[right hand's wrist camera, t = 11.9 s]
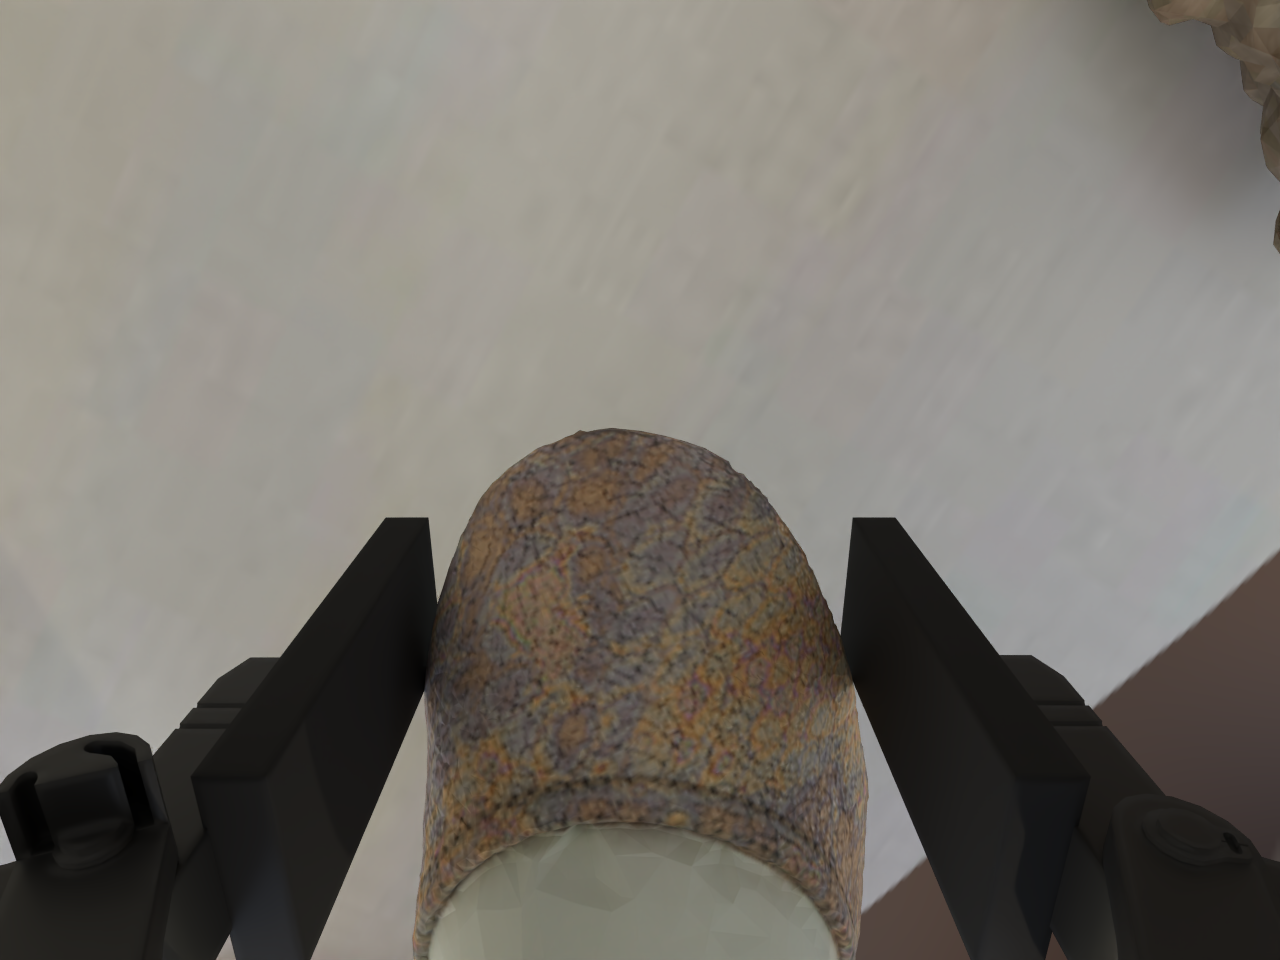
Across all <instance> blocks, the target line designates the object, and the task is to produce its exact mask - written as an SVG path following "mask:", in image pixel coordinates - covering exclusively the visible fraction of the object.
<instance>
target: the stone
mask: <svg viewBox="0 0 1280 960" xmlns="http://www.w3.org/2000/svg"><path fill="white" fill-rule="evenodd" d="M1147 1H1148V5H1149V7H1150V9H1151V10H1152V11H1153V13H1154V14H1155V15H1156V17H1157V18H1158V19H1159V20H1160V22H1162V23H1165V24H1167V25H1172V24H1176V23H1180V22H1184V21H1188V20H1191V19H1195V20H1198V21H1201V22H1203V23H1206V24H1209V25H1211V27H1212V31H1213V34H1214V38H1215V42H1216V45H1217V46H1218V47H1219V48H1221V49H1222V50H1223V51H1224V52H1226V53H1227V54H1228V55H1230V56H1232V57H1234V58H1235V59H1239V60H1240V65H1241V74H1242V82H1243V89H1244V91H1245V92H1246V93H1247V95H1248V96H1249V97H1250V98H1251V99H1252V100H1253V101H1255V102H1257V103H1259V104H1261V105H1263V113H1262V122H1261V131H1260V133H1261V143H1262V148H1263V153H1264V158H1265V162H1266V166H1267V168H1268V169H1269V170H1270V171H1271V173H1272V174H1273V175H1274V176H1275V177H1276V178H1277V179H1278V180H1279V181H1280V0H1147ZM1273 245H1274V246H1275V248H1276V249H1277V250H1278V252H1279V253H1280V211H1279V214H1278V216H1277V219H1276V224H1275V234H1274V243H1273Z"/></svg>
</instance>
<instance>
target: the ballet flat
mask: <svg viewBox="0 0 1280 960" xmlns="http://www.w3.org/2000/svg"><path fill="white" fill-rule="evenodd" d="M424 700H425V715H426V724H427V732H428V759H427V784H426V801H425V808H424V820H423V860H422V869H421V873H420V883H419V890H418V896H417V906H416V919H415V926H414V933H413V953H414V960H855V954H856V950H857V945H858V940H859V934H860V921H861V904H862V892H863V870H864V859H865V835H866V815H867V801H868V798H869V795H868V779H867V772H866V766H865V759H864V753H863V746H862V744H861V738H860V730H859V724H858V712H857V709H856V696H855V690H854V685H853V680H852V675H851V672H850V668H849V665H848V662H847V658H846V654H845V650H844V647H843V643H842V639H841V636H840V634H839V631H838V629H837V626H836V625H835V624H834V620H833V616H832V613H831V611H830V609H829V608H828V605H827V601H826V600H825V598H824V597H823V595H822V593H821V590H820V587H819V585H818V582H817V580H816V577H815V575H814V572H813V570H812V569H811V568H810V566H809V565H808V561H807V558H806V555H805V553H804V552H803V550H802V549H801V547H800V546H799V544H798V543H797V541H796V539H795V538H794V536H793V535H792V533H791V532H790V530H789V529H788V527H787V526H786V524H785V523H784V522H783V521H782V520H781V518H780V517H779V515H778V514H777V512H776V511H775V509H774V508H773V507H772V506H771V505H770V504H769V502H768V499H767V497H766V496H764V495H763V494H762V493H761V491H760V490H759V489H758V488H756V487H755V486H754V485H753V483H752V482H751V481H748V479H747V478H746V477H745V476H744V474H742V473H738V472H736V471H735V470H734V469H732V467H731V465H730V463H729V461H727V460H725V459H723V458H721V457H719V456H717V455H716V454H714V453H712V452H710V451H709V450H707V449H705V448H702V447H700V446H697V445H694V444H691V443H688V442H685V441H681V440H678V439H674V438H670V437H667V436H662V435H657V434H652V433H648V432H643V431H635V430H626V429H616V428H608V429H600V430H594V431H589V432H584V431H581V430H580V431H578V432H577V433H575V434H574V435H571V436H568V437H565V438H563V439H561V440H559V441H557V442H555V443H552V444H549V445H545V446H542V447H540V448H537V449H536V450H534V451H533V452H532V453H530V454H529V455H527V456H526V457H524V458H523V459H522V460H520V461H519V462H517V463H516V464H515V465H513V466H512V467H510V468H509V469H508V470H507V471H506V472H505V473H504V474H503V475H502V476H501V477H500V478H498V479H497V480H496V481H495V482H494V483H492V485H491V486H490V487H489V488H488V490H487V491H486V492H485V493H484V494H483V496H482V497H481V499H480V500H479V502H478V504H477V506H476V508H475V510H474V512H473V514H472V516H471V518H470V519H469V522H468V524H467V526H466V528H465V530H464V532H463V533H462V535H461V537H460V540H459V543H458V546H457V549H456V552H455V554H454V557H453V558H452V561H451V564H450V567H449V570H448V573H447V576H446V579H445V583H444V586H443V589H442V592H441V595H440V598H439V601H438V604H437V611H436V617H435V620H434V624H433V630H432V635H431V640H430V646H429V651H428V658H427V668H426V676H425V688H424Z"/></svg>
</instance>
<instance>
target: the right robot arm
mask: <svg viewBox="0 0 1280 960" xmlns="http://www.w3.org/2000/svg"><path fill="white" fill-rule="evenodd" d="M436 611H437V597H436V587H435V578H434V568H433V558H432V549H431V539H430V529H429V519H428V518H385V519H384V521H383V522H382V523H381V525H380V526H379V527H378V529H377V530H376V531H375V533H374V534H373V535H372V537H371V538H370V539H369V541H368V542H367V543H366V545H365V546H364V547H363V548H362V550H361V551H360V552H359V554H358V555H357V556H356V558H355V559H354V560H353V562H352V563H351V564H350V566H349V567H348V568H347V570H346V571H345V572H344V574H343V575H342V576H341V578H340V579H339V580H338V582H337V583H336V584H335V586H334V587H333V588H332V590H331V591H330V592H329V593H328V595H327V596H326V597H325V599H324V600H323V601H322V603H321V604H320V605H319V607H318V608H317V609H316V611H315V612H314V613H313V615H312V616H311V617H310V619H309V620H308V621H307V623H306V624H305V625H304V627H303V628H302V629H301V631H300V632H299V633H298V635H297V636H296V637H295V638H294V640H293V641H292V642H291V644H290V645H289V646H288V648H287V649H286V650H285V652H284V653H283V654H282V656H281V657H280V658H249V659H247V660H246V661H244V662H243V663H241V664H240V665H238V666H237V667H235V668H234V669H232V670H231V671H229V672H228V673H226V674H224V675H223V676H221V677H220V678H218V679H217V681H216V682H215V683H214V684H213V685H212V686H211V688H210V689H209V690H208V691H207V692H206V694H205V695H204V696H203V697H202V698H201V699H200V701H199V702H198V703H197V708H193V709H192V710H191V711H190V712H189V714H188V715H187V716H186V717H185V718H184V719H183V721H182V722H181V723H180V728H179V729H175V730H174V731H173V732H172V734H171V735H170V736H169V737H168V738H167V740H166V741H165V742H164V743H163V744H162V745H161V747H160V748H159V749H158V750H157V751H156V753H155V754H154V755H153V756H152V752H151V748H150V745H149V744H148V743H147V742H145V741H144V740H143V739H141V738H140V737H139V736H137V735H131V734H125V733H118V732H114V733H105V734H96V735H89V736H85V737H82V738H79V739H75V740H72V741H69V742H65V743H62V744H59V745H57V746H55V747H53V748H51V749H49V750H47V751H45V752H43V753H41V754H39V755H37V756H35V757H33V758H31V759H29V760H28V761H27V762H25V763H24V764H22V765H21V766H20V767H18V768H17V769H16V770H14V771H13V772H12V773H10V774H9V775H8V776H7V777H6V778H5V779H4V780H3V782H2V783H1V784H0V817H1V820H2V822H3V825H4V828H5V831H6V833H7V836H8V839H9V842H10V844H11V847H12V850H13V853H14V855H15V858H16V861H15V862H12V863H8V864H4V865H0V960H216V958H217V956H218V954H219V953H220V951H221V949H222V947H223V945H224V943H225V942H226V940H227V938H228V936H229V934H230V937H231V941H232V945H233V949H234V953H235V957H236V960H310V959H311V957H312V955H313V952H314V950H315V948H316V945H317V943H318V941H319V938H320V936H321V933H322V931H323V929H324V926H325V924H326V922H327V919H328V917H329V915H330V912H331V910H332V907H333V905H334V903H335V900H336V898H337V896H338V893H339V891H340V889H341V886H342V884H343V881H344V879H345V877H346V874H347V872H348V870H349V867H350V865H351V863H352V860H353V858H354V855H355V853H356V851H357V848H358V846H359V844H360V841H361V839H362V837H363V834H364V832H365V829H366V827H367V825H368V822H369V820H370V818H371V815H372V813H373V811H374V808H375V806H376V803H377V801H378V799H379V796H380V794H381V792H382V789H383V787H384V785H385V782H386V780H387V777H388V775H389V773H390V770H391V768H392V766H393V763H394V761H395V759H396V756H397V754H398V751H399V749H400V747H401V744H402V742H403V740H404V737H405V735H406V733H407V730H408V728H409V725H410V723H411V721H412V718H413V716H414V714H415V711H416V709H417V707H418V704H419V702H420V699H421V697H422V695H423V692H424V688H425V676H426V668H427V658H428V651H429V646H430V640H431V635H432V630H433V624H434V620H435V617H436ZM841 639H842V643H843V647H844V650H845V654H846V658H847V662H848V665H849V668H850V672H851V675H852V680H853V683H854V685H855V688H856V690H857V692H858V695H859V697H860V699H861V702H862V704H863V706H864V709H865V711H866V713H867V716H868V718H869V721H870V723H871V725H872V728H873V730H874V732H875V735H876V737H877V739H878V742H879V744H880V747H881V749H882V751H883V754H884V756H885V758H886V761H887V763H888V765H889V768H890V770H891V773H892V775H893V777H894V780H895V782H896V784H897V787H898V789H899V791H900V794H901V796H902V799H903V801H904V803H905V806H906V808H907V810H908V813H909V815H910V817H911V820H912V822H913V825H914V827H915V829H916V832H917V834H918V836H919V839H920V841H921V843H922V846H923V848H924V851H925V853H926V855H927V858H928V860H929V862H930V865H931V867H932V869H933V872H934V874H935V877H936V879H937V881H938V884H939V886H940V888H941V891H942V893H943V895H944V898H945V900H946V903H947V905H948V907H949V910H950V912H951V914H952V917H953V919H954V921H955V924H956V926H957V929H958V931H959V933H960V936H961V938H962V940H963V943H964V945H965V947H966V950H967V952H968V955H969V957H970V959H971V960H1045V958H1046V954H1047V950H1048V946H1049V942H1050V938H1051V934H1052V932H1053V934H1054V936H1055V937H1056V939H1057V941H1058V943H1059V945H1060V947H1061V948H1062V950H1063V952H1064V954H1065V956H1066V957H1067V959H1068V960H1280V862H1278V861H1274V860H1270V859H1267V858H1264V857H1261V855H1260V854H1259V852H1258V851H1257V849H1256V848H1255V846H1254V845H1253V843H1252V842H1251V840H1250V839H1248V838H1247V837H1246V836H1245V835H1244V834H1242V833H1241V832H1240V831H1239V830H1238V829H1236V828H1235V827H1234V826H1233V825H1232V824H1230V823H1229V822H1228V821H1226V820H1225V819H1223V818H1221V817H1219V816H1217V815H1215V814H1214V813H1212V812H1210V811H1208V810H1206V809H1205V808H1203V807H1201V806H1198V805H1195V804H1192V803H1189V802H1186V801H1183V800H1180V799H1178V798H1175V797H1171V796H1165V794H1164V793H1163V792H1162V791H1161V790H1160V788H1159V787H1158V786H1157V785H1156V784H1155V783H1154V781H1153V780H1152V779H1151V778H1150V777H1149V776H1148V774H1147V773H1146V772H1145V771H1144V770H1143V769H1142V767H1141V766H1140V765H1139V764H1138V763H1137V762H1136V760H1135V759H1134V758H1133V757H1132V756H1131V755H1130V753H1129V752H1128V751H1127V750H1126V749H1125V748H1124V746H1123V745H1122V744H1121V743H1120V742H1119V740H1118V739H1117V738H1116V737H1115V736H1114V735H1113V733H1112V732H1111V731H1110V730H1109V729H1108V728H1107V727H1106V726H1102V721H1101V719H1100V718H1099V717H1098V716H1097V715H1096V714H1095V712H1094V711H1093V710H1092V709H1091V708H1090V706H1085V703H1084V699H1083V698H1082V697H1081V696H1080V695H1079V694H1078V692H1077V691H1076V690H1075V689H1074V688H1073V687H1072V685H1071V684H1070V683H1069V682H1068V681H1067V680H1066V678H1065V677H1064V676H1063V675H1061V674H1059V673H1058V672H1056V671H1055V670H1053V669H1052V668H1050V667H1049V666H1047V665H1046V664H1044V663H1043V662H1041V661H1040V660H1038V659H1036V658H1035V657H1033V656H1032V655H999V654H998V653H997V652H996V650H995V649H994V648H993V646H992V645H991V644H990V642H989V641H988V640H987V638H986V637H985V636H984V634H983V633H982V632H981V630H980V629H979V628H978V626H977V625H976V624H975V622H974V621H973V620H972V618H971V617H970V616H969V614H968V613H967V612H966V610H965V609H964V608H963V607H962V605H961V604H960V603H959V601H958V600H957V599H956V597H955V596H954V595H953V593H952V592H951V591H950V589H949V588H948V587H947V585H946V584H945V583H944V581H943V580H942V579H941V577H940V576H939V575H938V573H937V572H936V571H935V569H934V568H933V567H932V566H931V564H930V563H929V562H928V560H927V559H926V558H925V556H924V555H923V554H922V552H921V551H920V550H919V548H918V547H917V546H916V544H915V543H914V542H913V540H912V539H911V538H910V536H909V535H908V534H907V532H906V531H905V530H904V528H903V527H902V526H901V524H900V523H899V522H898V521H897V519H896V518H853V521H852V530H851V540H850V550H849V559H848V569H847V579H846V588H845V598H844V608H843V617H842V627H841Z"/></svg>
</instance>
